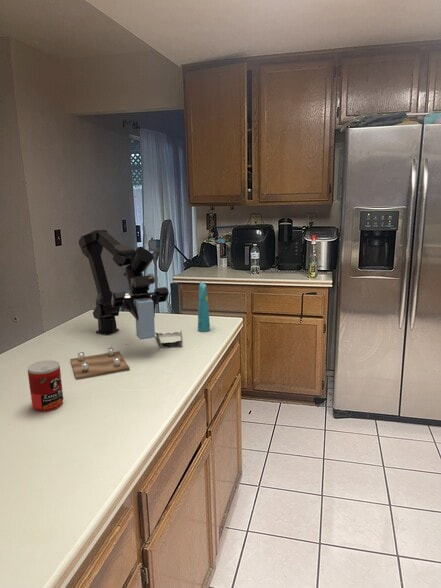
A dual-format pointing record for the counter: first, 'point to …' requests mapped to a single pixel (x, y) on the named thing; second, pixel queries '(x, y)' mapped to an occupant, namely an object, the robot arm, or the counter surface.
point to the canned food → (45, 385)
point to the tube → (203, 309)
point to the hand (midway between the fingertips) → (145, 318)
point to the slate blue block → (145, 318)
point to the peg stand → (98, 364)
